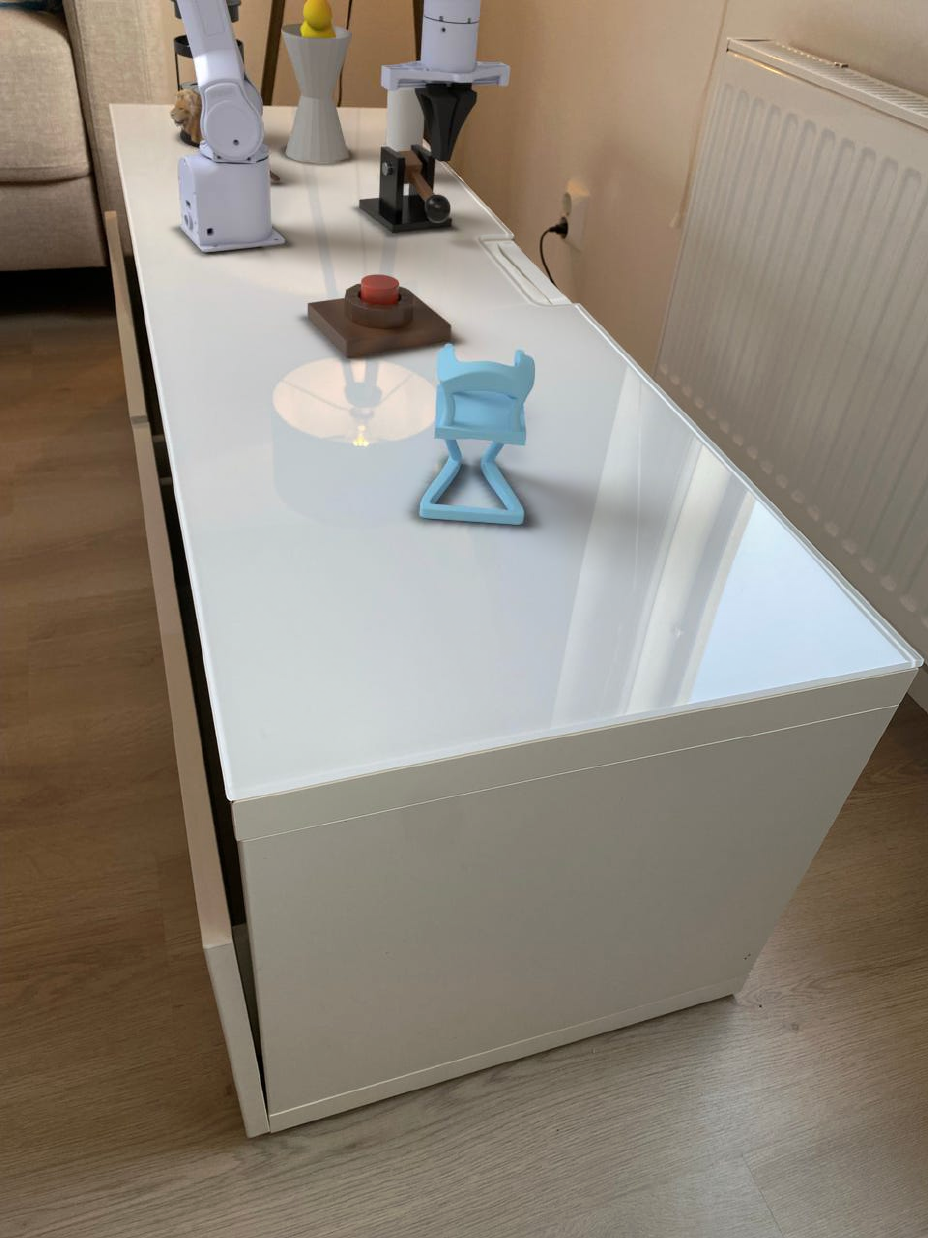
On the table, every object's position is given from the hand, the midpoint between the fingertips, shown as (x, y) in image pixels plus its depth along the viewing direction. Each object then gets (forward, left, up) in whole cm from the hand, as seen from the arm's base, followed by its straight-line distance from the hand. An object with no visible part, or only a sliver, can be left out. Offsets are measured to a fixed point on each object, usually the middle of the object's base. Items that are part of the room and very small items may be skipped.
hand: (440, 158), depth 111 cm
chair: (-23, -47, -9) cm, 53 cm away
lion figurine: (-15, +29, -9) cm, 34 cm away
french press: (-11, +44, -9) cm, 46 cm away
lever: (0, +4, -6) cm, 7 cm away
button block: (-17, -19, -9) cm, 27 cm away
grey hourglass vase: (0, +34, -9) cm, 35 cm away
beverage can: (+7, +22, -9) cm, 25 cm away
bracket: (0, +8, -9) cm, 12 cm away
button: (-17, -19, -6) cm, 26 cm away
